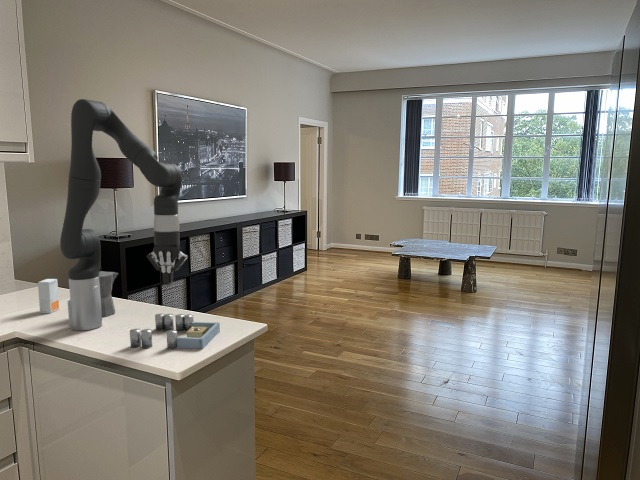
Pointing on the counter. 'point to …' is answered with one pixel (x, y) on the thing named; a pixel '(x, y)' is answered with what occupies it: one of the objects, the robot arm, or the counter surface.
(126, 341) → the counter surface
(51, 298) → the skincare box
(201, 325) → the parts bay
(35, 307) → the counter surface
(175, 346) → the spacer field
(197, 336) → the yellow knobbed block
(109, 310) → the coffeepot
